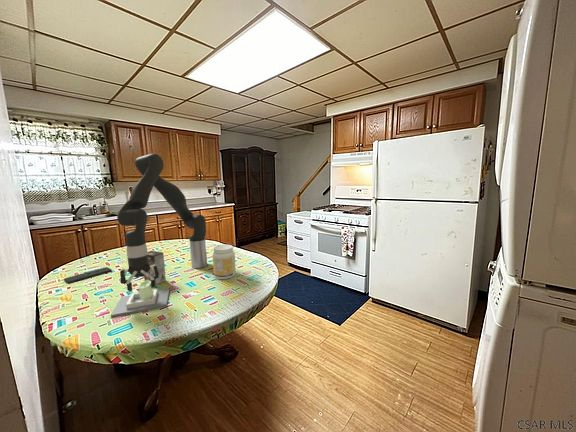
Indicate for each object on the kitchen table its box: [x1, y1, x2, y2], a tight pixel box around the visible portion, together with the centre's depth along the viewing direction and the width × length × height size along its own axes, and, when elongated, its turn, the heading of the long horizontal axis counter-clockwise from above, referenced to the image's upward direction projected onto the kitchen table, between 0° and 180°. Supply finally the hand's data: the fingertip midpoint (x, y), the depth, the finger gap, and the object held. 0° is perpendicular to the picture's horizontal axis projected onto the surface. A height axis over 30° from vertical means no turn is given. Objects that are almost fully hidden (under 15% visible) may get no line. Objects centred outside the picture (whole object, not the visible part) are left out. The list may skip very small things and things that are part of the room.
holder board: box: [110, 288, 170, 318], centre depth 104 cm, size 20×16×3 cm
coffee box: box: [143, 250, 167, 286], centre depth 125 cm, size 9×6×16 cm
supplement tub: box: [212, 244, 237, 280], centre depth 131 cm, size 12×12×17 cm
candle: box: [138, 280, 153, 301], centre depth 104 cm, size 5×5×8 cm
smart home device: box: [63, 266, 113, 285], centre depth 134 cm, size 8×2×20 cm
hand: (142, 289), depth 103 cm, fingers open, 8 cm apart
